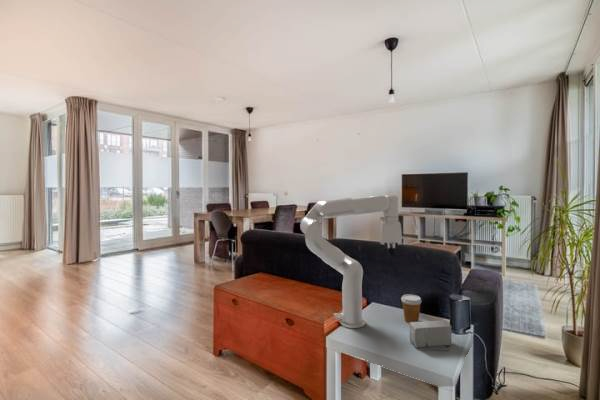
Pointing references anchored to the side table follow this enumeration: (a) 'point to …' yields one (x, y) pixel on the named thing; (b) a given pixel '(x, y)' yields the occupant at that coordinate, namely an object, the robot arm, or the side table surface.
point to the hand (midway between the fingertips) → (391, 255)
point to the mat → (434, 348)
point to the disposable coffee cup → (411, 307)
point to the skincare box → (430, 333)
